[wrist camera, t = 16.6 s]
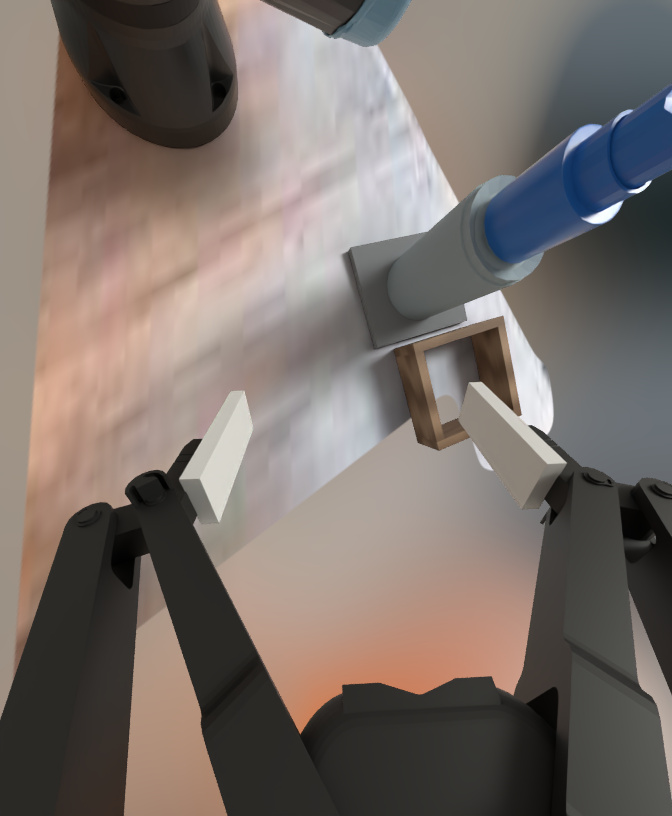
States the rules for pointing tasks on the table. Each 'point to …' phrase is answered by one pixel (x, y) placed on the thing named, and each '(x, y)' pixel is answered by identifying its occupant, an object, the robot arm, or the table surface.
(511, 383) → the walnut collar
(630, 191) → the spray bottle
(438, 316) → the rubber mat
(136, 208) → the table surface
